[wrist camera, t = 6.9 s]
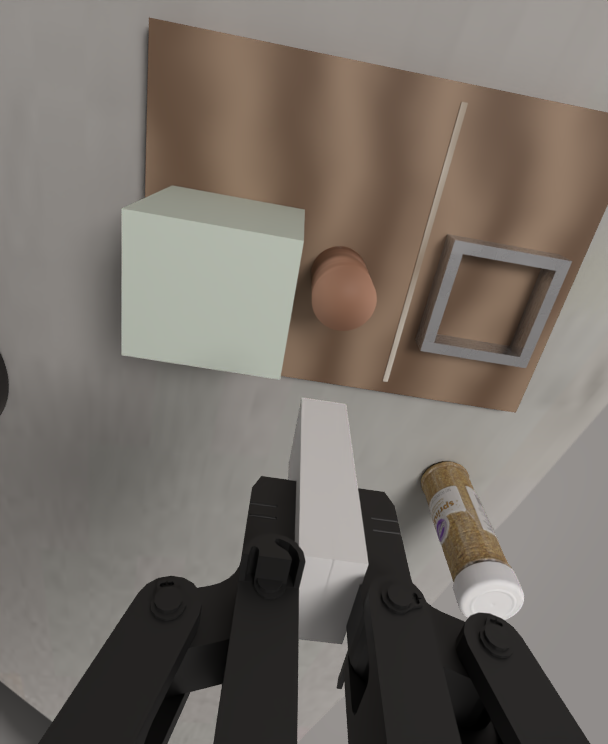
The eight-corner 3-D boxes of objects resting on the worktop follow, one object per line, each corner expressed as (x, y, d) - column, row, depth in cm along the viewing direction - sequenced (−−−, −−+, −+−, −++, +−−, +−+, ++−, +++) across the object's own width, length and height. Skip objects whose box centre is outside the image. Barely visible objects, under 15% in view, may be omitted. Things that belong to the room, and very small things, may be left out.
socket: (415, 340, 37) (420, 350, 36) (447, 233, 34) (455, 240, 32) (515, 356, 38) (526, 368, 36) (558, 254, 34) (572, 261, 33)
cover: (167, 298, 36) (121, 355, 27) (172, 185, 32) (121, 208, 24) (286, 318, 37) (280, 379, 28) (304, 209, 33) (304, 240, 24)
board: (147, 346, 39) (114, 391, 33) (156, 22, 30) (112, -8, 23) (509, 403, 42) (547, 456, 35) (630, 120, 32) (716, 119, 25)
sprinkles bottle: (420, 460, 45) (462, 584, 33) (470, 458, 44) (531, 581, 32) (418, 498, 47) (457, 628, 35) (466, 496, 47) (521, 625, 35)
